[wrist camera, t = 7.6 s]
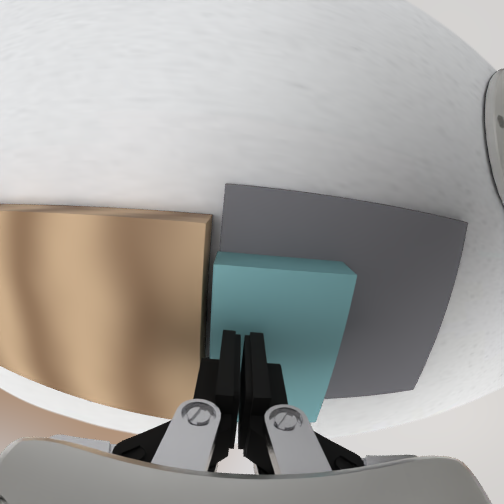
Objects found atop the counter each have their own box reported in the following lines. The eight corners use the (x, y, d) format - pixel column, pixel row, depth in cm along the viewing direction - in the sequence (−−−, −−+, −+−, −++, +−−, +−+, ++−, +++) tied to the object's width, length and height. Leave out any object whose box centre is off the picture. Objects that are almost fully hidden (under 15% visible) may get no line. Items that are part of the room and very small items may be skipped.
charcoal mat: (462, 221, 14) (467, 222, 13) (410, 385, 17) (413, 389, 16) (226, 183, 13) (225, 183, 12) (212, 390, 16) (211, 395, 16)
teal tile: (342, 261, 14) (357, 275, 12) (309, 399, 16) (315, 422, 14) (217, 251, 13) (213, 264, 11) (211, 396, 16) (208, 419, 14)
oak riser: (212, 214, 13) (205, 223, 11) (204, 394, 16) (199, 423, 14) (-28, 204, 12) (-51, 209, 10) (-5, 340, 15) (-21, 354, 13)
